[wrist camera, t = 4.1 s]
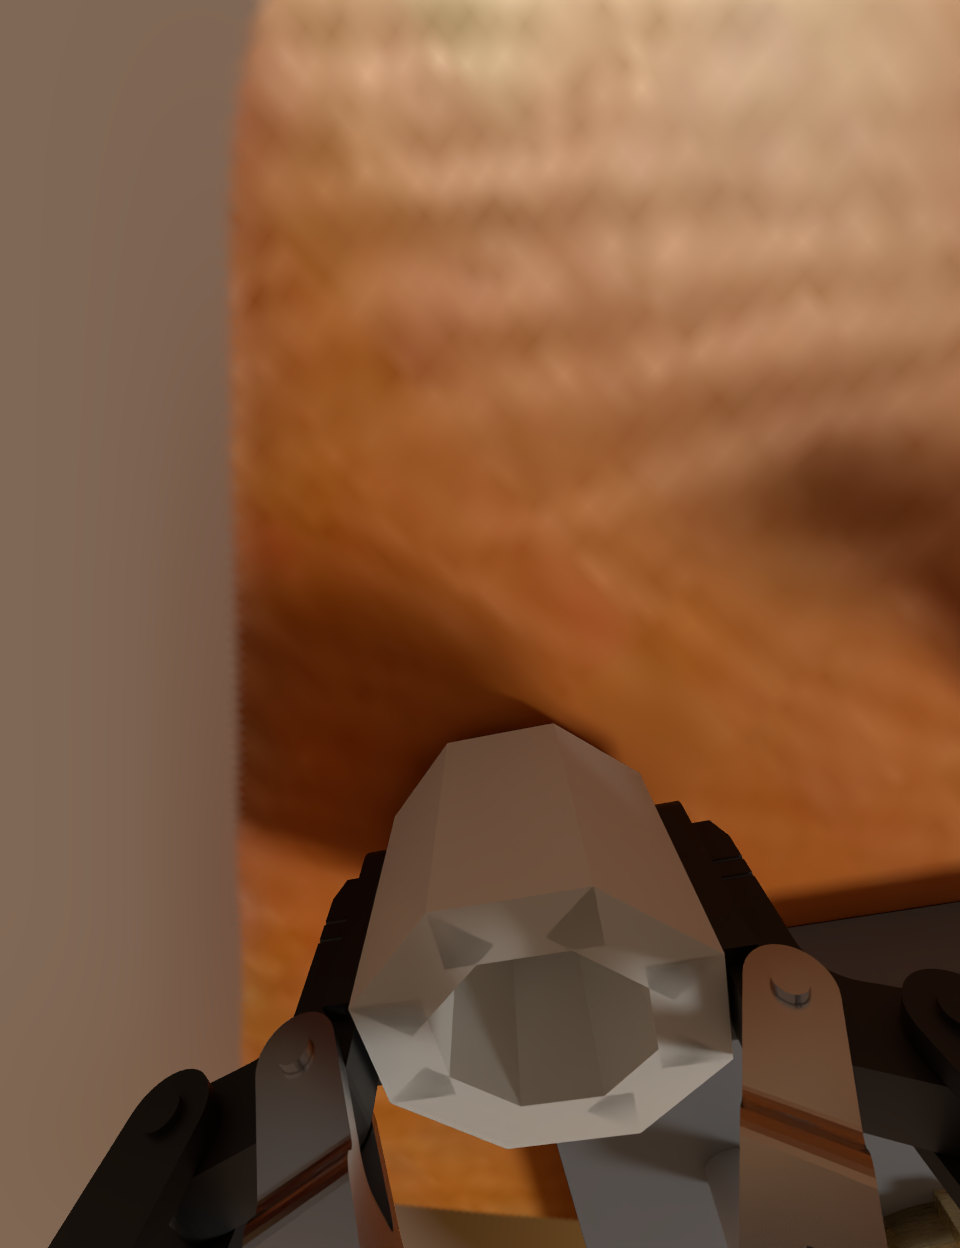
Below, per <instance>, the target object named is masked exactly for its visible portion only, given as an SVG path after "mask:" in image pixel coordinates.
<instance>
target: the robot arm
mask: <svg viewBox="0 0 960 1248" xmlns="http://www.w3.org/2000/svg"><path fill="white" fill-rule="evenodd" d="M655 807H656V809H657V811H658V813H659V816H660V818H661V820H662V822H663V824H664V826H665V828H666V830H667V833H668V835H669V837H670V839H671V841H672V843H673V845H674V847H675V850H676V852H677V854H678V856H679V858H680V860H681V862H682V864H683V867H684V869H685V871H686V873H687V875H688V877H689V879H690V881H691V884H692V886H693V888H694V890H695V892H696V894H697V896H698V898H699V901H700V903H701V905H702V907H703V909H704V911H705V913H706V916H707V918H708V920H709V922H710V924H711V926H712V928H713V930H714V933H715V935H716V937H717V939H718V941H719V943H720V945H721V947H722V950H723V952H724V954H725V965H726V977H727V989H728V1001H729V1013H730V1025H731V1037H732V1040H739V1043H740V1045H741V1047H742V1102H741V1106H740V1165H739V1248H888V1247H887V1241H886V1235H885V1229H884V1223H883V1217H882V1211H881V1205H880V1199H879V1193H878V1187H877V1181H876V1176H875V1171H874V1166H873V1161H872V1158H871V1154H870V1152H869V1150H868V1149H867V1148H866V1145H865V1141H864V1137H863V1133H866V1134H870V1135H873V1136H877V1137H881V1138H885V1139H888V1140H892V1141H896V1142H899V1143H903V1144H907V1145H911V1146H913V1147H914V1148H915V1150H916V1151H917V1152H918V1154H919V1155H920V1156H921V1158H922V1159H923V1160H924V1162H925V1163H926V1164H927V1166H928V1167H929V1169H930V1170H931V1171H932V1173H933V1174H934V1175H935V1177H936V1178H937V1179H938V1181H939V1182H940V1183H941V1185H942V1186H943V1188H944V1189H945V1190H946V1192H947V1193H948V1194H949V1196H950V1197H951V1198H952V1200H953V1201H954V1202H955V1204H956V1205H957V1207H958V1208H959V1209H960V974H958V973H955V972H952V971H947V970H942V969H922V970H918V971H915V972H913V973H911V974H910V975H909V976H908V977H907V978H906V979H905V981H904V982H903V986H902V988H900V987H894V986H888V985H882V984H876V983H870V982H865V981H859V980H855V979H850V978H847V977H844V976H841V975H839V974H836V973H834V972H832V971H830V970H828V969H826V968H825V967H824V966H823V965H822V964H821V963H820V962H819V961H817V960H816V959H815V958H813V957H812V956H810V955H809V954H807V953H805V952H804V951H803V950H802V949H801V948H800V947H799V945H798V944H797V943H796V941H795V940H794V938H793V937H792V935H791V934H790V932H789V930H788V929H787V927H786V926H785V924H784V922H783V921H782V919H781V918H780V916H779V914H778V913H777V911H776V910H775V908H774V906H773V905H772V903H771V902H770V900H769V898H768V897H767V895H766V894H765V892H764V890H763V889H762V887H761V886H760V884H759V882H758V881H757V879H756V878H755V876H753V874H752V871H751V870H750V868H749V866H748V865H747V863H746V862H745V860H744V859H742V855H741V854H740V852H739V850H738V849H737V847H736V846H735V844H734V842H733V841H732V839H731V838H730V836H729V835H728V834H726V833H725V832H724V831H723V830H721V829H720V828H719V827H717V826H716V825H715V824H713V823H712V822H711V821H710V820H708V821H702V822H696V823H692V822H691V821H690V819H689V817H688V815H687V813H686V812H685V810H684V808H683V806H682V804H681V803H680V802H679V801H674V802H668V803H662V804H656V805H655ZM386 851H387V850H383V851H378V852H372V853H368V854H367V855H366V857H365V859H364V862H363V866H362V869H361V873H360V876H359V878H357V879H351V880H347V882H346V883H345V884H344V886H343V887H342V888H341V890H340V891H339V892H338V894H337V895H336V897H335V898H334V899H333V902H332V905H331V908H330V911H329V914H328V917H327V920H326V925H325V926H324V929H323V932H322V934H321V937H320V943H319V944H318V946H317V949H316V952H315V955H314V958H313V961H312V964H311V967H310V970H309V973H308V976H307V979H306V982H305V985H304V988H303V991H302V994H301V997H300V1000H299V1003H298V1006H297V1009H296V1012H295V1014H294V1017H293V1018H291V1019H290V1020H288V1021H287V1022H285V1023H284V1024H283V1025H282V1026H281V1027H279V1028H278V1029H277V1031H276V1032H275V1033H274V1034H273V1035H272V1036H271V1038H270V1039H269V1040H268V1042H267V1043H266V1045H265V1046H264V1048H263V1050H262V1052H261V1054H260V1057H259V1058H258V1059H257V1060H255V1061H253V1062H251V1063H250V1064H248V1065H246V1066H244V1067H242V1068H240V1069H238V1070H236V1071H234V1072H232V1073H230V1074H228V1075H226V1076H224V1077H222V1078H220V1079H218V1080H216V1081H214V1082H212V1083H210V1082H209V1080H208V1079H207V1077H206V1076H205V1075H204V1073H203V1072H201V1071H199V1070H196V1069H186V1070H183V1071H179V1072H177V1073H175V1074H172V1075H171V1076H169V1077H168V1078H166V1079H164V1080H163V1081H162V1082H160V1083H159V1084H158V1085H157V1086H155V1087H154V1088H153V1089H152V1090H151V1091H150V1092H149V1093H148V1094H147V1095H146V1096H145V1097H144V1098H143V1100H142V1101H141V1102H140V1103H139V1105H138V1106H137V1107H136V1109H135V1110H134V1112H133V1113H132V1115H131V1116H130V1118H129V1119H128V1121H127V1122H126V1124H125V1126H124V1128H123V1129H122V1131H121V1132H120V1134H119V1135H118V1137H117V1138H116V1140H115V1142H114V1143H113V1145H112V1146H111V1148H110V1150H109V1151H108V1153H107V1154H106V1156H105V1158H104V1159H103V1161H102V1162H101V1164H100V1166H99V1167H98V1169H97V1170H96V1172H95V1173H94V1175H93V1177H92V1178H91V1180H90V1182H89V1183H88V1185H87V1186H86V1188H85V1190H84V1191H83V1193H82V1194H81V1196H80V1198H79V1199H78V1201H77V1202H76V1204H75V1205H74V1207H73V1209H72V1210H71V1212H70V1213H69V1215H68V1216H67V1218H66V1220H65V1221H64V1223H63V1225H62V1226H61V1228H60V1229H59V1231H58V1233H57V1234H56V1236H55V1237H54V1239H53V1240H52V1242H51V1244H50V1245H49V1247H48V1248H404V1247H403V1243H402V1239H401V1235H400V1231H399V1226H398V1221H397V1217H396V1212H395V1207H394V1202H393V1197H392V1193H391V1188H390V1183H389V1178H388V1174H387V1169H386V1164H385V1159H384V1155H383V1150H382V1145H381V1140H380V1136H379V1131H378V1126H377V1121H376V1118H375V1115H374V1113H373V1108H374V1102H375V1096H376V1090H377V1086H378V1085H382V1083H381V1081H380V1079H379V1076H378V1074H377V1072H376V1070H375V1067H374V1065H373V1063H372V1061H371V1059H370V1056H369V1054H368V1052H367V1050H366V1047H365V1045H364V1043H363V1041H362V1039H361V1036H360V1034H359V1032H358V1030H357V1027H356V1025H355V1023H354V1021H353V1019H352V1016H351V1014H350V1012H349V1010H348V1008H349V1004H350V999H351V995H352V991H353V987H354V983H355V979H356V975H357V971H358V967H359V962H360V958H361V954H362V950H363V946H364V942H365V938H366V934H367V929H368V925H369V921H370V917H371V913H372V909H373V905H374V901H375V897H376V892H377V888H378V884H379V880H380V876H381V872H382V868H383V864H384V860H385V855H386Z"/></svg>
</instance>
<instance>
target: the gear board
mask: <svg viewBox="0 0 960 1248" xmlns="http://www.w3.org/2000/svg"><path fill="white" fill-rule="evenodd" d="M787 929H788V930H789V932H790V934H791V935H792V937H793V938H794V940H795V941H796V943H797V944H798V945H799V947H800V948H801V949H802V950H803V951H804V952H805V953H807V954H809V955H810V956H812V957H813V958H815V959H816V960H817V961H819V962H820V963H821V964H822V965H823V966H824V967H825V968H826V969H828V970H830V971H832V972H834V973H836V974H839V975H841V976H844V977H847V978H850V979H855V980H859V981H865V982H870V983H876V984H882V985H888V986H894V987H900V988H902V986H903V982H904V981H905V979H906V978H907V977H908V976H909V975H910V974H911V973H913V972H915V971H918V970H922V969H942V970H947V971H952V972H955V973H958V974H960V902H956V903H949V904H943V905H936V906H930V907H923V908H916V909H910V910H903V911H897V912H890V913H883V914H877V915H870V916H864V917H857V918H851V919H844V920H837V921H831V922H824V923H818V924H811V925H804V926H798V927H791V928H787ZM732 1049H733V1058H734V1059H733V1060H731V1061H730V1062H729V1063H728V1064H726V1065H725V1066H724V1067H723V1068H721V1069H720V1070H719V1071H718V1072H716V1073H715V1074H714V1075H713V1076H711V1077H710V1078H709V1079H708V1080H706V1081H705V1082H704V1083H703V1084H701V1085H700V1086H699V1087H698V1088H696V1089H695V1090H694V1091H693V1092H691V1093H690V1094H689V1095H688V1096H686V1097H685V1098H684V1099H683V1100H681V1101H680V1102H679V1103H678V1104H676V1105H675V1106H674V1107H673V1108H671V1109H670V1110H669V1111H668V1112H666V1113H665V1114H664V1115H663V1116H661V1117H660V1118H659V1119H658V1120H656V1121H655V1122H654V1123H653V1124H651V1125H650V1126H649V1127H648V1128H646V1129H645V1130H644V1131H643V1132H641V1133H638V1134H629V1135H621V1136H612V1137H604V1138H596V1139H587V1140H579V1141H570V1142H562V1143H557V1146H558V1150H559V1153H560V1157H561V1160H562V1164H563V1167H564V1171H565V1174H566V1178H567V1181H568V1185H569V1188H570V1192H571V1195H572V1199H573V1202H574V1206H575V1209H576V1213H577V1216H578V1220H579V1223H580V1226H581V1230H582V1234H583V1237H584V1241H585V1244H586V1248H739V1165H740V1106H741V1102H742V1047H741V1045H740V1043H739V1040H732ZM863 1137H864V1141H865V1145H866V1148H867V1149H868V1150H869V1152H870V1154H871V1158H872V1161H873V1166H874V1171H875V1176H876V1181H877V1187H878V1193H879V1199H880V1205H881V1211H882V1217H885V1216H887V1215H890V1214H892V1213H894V1212H897V1211H900V1210H903V1209H905V1208H908V1207H912V1206H916V1205H919V1204H923V1203H928V1202H932V1199H933V1190H942V1189H944V1188H943V1186H942V1185H941V1183H940V1182H939V1181H938V1179H937V1178H936V1177H935V1175H934V1174H933V1173H932V1171H931V1170H930V1169H929V1167H928V1166H927V1164H926V1163H925V1162H924V1160H923V1159H922V1158H921V1156H920V1155H919V1154H918V1152H917V1151H916V1150H915V1148H914V1147H913V1146H911V1145H907V1144H903V1143H899V1142H896V1141H892V1140H888V1139H885V1138H881V1137H877V1136H873V1135H870V1134H866V1133H863Z"/></svg>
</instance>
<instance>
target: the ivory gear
mask: <svg viewBox="0 0 960 1248" xmlns="http://www.w3.org/2000/svg"><path fill="white" fill-rule="evenodd" d="M348 1010H349V1012H350V1014H351V1016H352V1019H353V1021H354V1023H355V1025H356V1027H357V1030H358V1032H359V1034H360V1036H361V1039H362V1041H363V1043H364V1045H365V1047H366V1050H367V1052H368V1054H369V1056H370V1059H371V1061H372V1063H373V1065H374V1067H375V1070H376V1072H377V1074H378V1076H379V1079H380V1081H381V1083H382V1085H383V1087H384V1090H385V1092H386V1094H387V1096H388V1099H389V1101H390V1103H392V1104H394V1105H397V1106H399V1107H402V1108H404V1109H407V1110H409V1111H412V1112H414V1113H417V1114H420V1115H422V1116H425V1117H427V1118H430V1119H432V1120H435V1121H437V1122H440V1123H442V1124H445V1125H447V1126H450V1127H453V1128H455V1129H458V1130H460V1131H463V1132H465V1133H468V1134H470V1135H473V1136H475V1137H478V1138H480V1139H483V1140H485V1141H488V1142H491V1143H493V1144H496V1145H498V1146H501V1147H503V1148H506V1149H511V1148H520V1147H528V1146H537V1145H545V1144H553V1143H562V1142H570V1141H579V1140H587V1139H596V1138H604V1137H612V1136H621V1135H629V1134H638V1133H641V1132H643V1131H644V1130H645V1129H646V1128H648V1127H649V1126H650V1125H651V1124H653V1123H654V1122H655V1121H656V1120H658V1119H659V1118H660V1117H661V1116H663V1115H664V1114H665V1113H666V1112H668V1111H669V1110H670V1109H671V1108H673V1107H674V1106H675V1105H676V1104H678V1103H679V1102H680V1101H681V1100H683V1099H684V1098H685V1097H686V1096H688V1095H689V1094H690V1093H691V1092H693V1091H694V1090H695V1089H696V1088H698V1087H699V1086H700V1085H701V1084H703V1083H704V1082H705V1081H706V1080H708V1079H709V1078H710V1077H711V1076H713V1075H714V1074H715V1073H716V1072H718V1071H719V1070H720V1069H721V1068H723V1067H724V1066H725V1065H726V1064H728V1063H729V1062H730V1061H731V1060H733V1059H734V1058H733V1049H732V1037H731V1025H730V1013H729V1001H728V989H727V977H726V965H725V954H724V952H723V950H722V947H721V945H720V943H719V941H718V939H717V937H716V935H715V933H714V930H713V928H712V926H711V924H710V922H709V920H708V918H707V916H706V913H705V911H704V909H703V907H702V905H701V903H700V901H699V898H698V896H697V894H696V892H695V890H694V888H693V886H692V884H691V881H690V879H689V877H688V875H687V873H686V871H685V869H684V867H683V864H682V862H681V860H680V858H679V856H678V854H677V852H676V850H675V847H674V845H673V843H672V841H671V839H670V837H669V835H668V833H667V830H666V828H665V826H664V824H663V822H662V820H661V818H660V816H659V813H658V811H657V809H656V807H655V805H654V803H653V801H652V799H651V796H650V794H649V792H648V790H647V788H646V786H645V784H644V782H643V779H642V777H641V775H640V773H638V772H637V771H635V770H633V769H631V768H630V767H628V766H626V765H625V764H623V763H621V762H619V761H618V760H616V759H614V758H612V757H611V756H609V755H607V754H606V753H604V752H602V751H600V750H599V749H597V748H595V747H593V746H592V745H590V744H588V743H587V742H585V741H583V740H581V739H580V738H578V737H576V736H575V735H573V734H571V733H569V732H568V731H566V730H564V729H562V728H561V727H559V726H557V725H556V724H554V723H552V724H546V725H541V726H536V727H530V728H525V729H520V730H514V731H509V732H504V733H498V734H493V735H488V736H482V737H477V738H472V739H466V740H461V741H456V742H450V743H447V744H446V746H445V747H444V749H443V750H442V751H441V753H440V754H439V756H438V757H437V758H436V760H435V761H434V763H433V764H432V765H431V767H430V768H429V770H428V771H427V772H426V774H425V775H424V777H423V778H422V779H421V781H420V782H419V784H418V785H417V786H416V788H415V789H414V791H413V792H412V793H411V795H410V796H409V798H408V799H407V800H406V802H405V803H404V805H403V806H402V807H401V809H400V810H399V812H398V813H397V814H396V816H395V818H394V822H393V827H392V831H391V835H390V839H389V843H388V847H387V851H386V855H385V860H384V864H383V868H382V872H381V876H380V880H379V884H378V888H377V892H376V897H375V901H374V905H373V909H372V913H371V917H370V921H369V925H368V929H367V934H366V938H365V942H364V946H363V950H362V954H361V958H360V962H359V967H358V971H357V975H356V979H355V983H354V987H353V991H352V995H351V999H350V1004H349V1008H348Z"/></svg>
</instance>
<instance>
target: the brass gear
mask: <svg viewBox="0 0 960 1248" xmlns="http://www.w3.org/2000/svg"><path fill="white" fill-rule="evenodd" d="M883 1223H884V1229H885V1235H886V1241H887V1247H888V1248H960V1209H959V1208H958V1207H957V1205H956V1204H955V1202H954V1201H953V1200H952V1198H951V1197H950V1196H949V1194H948V1193H947V1192H946V1190H945V1189H942V1190H933V1199H932V1202H928V1203H923V1204H919V1205H916V1206H912V1207H908V1208H905V1209H903V1210H900V1211H897V1212H894V1213H892V1214H890V1215H887V1216H885V1217H883Z"/></svg>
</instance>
